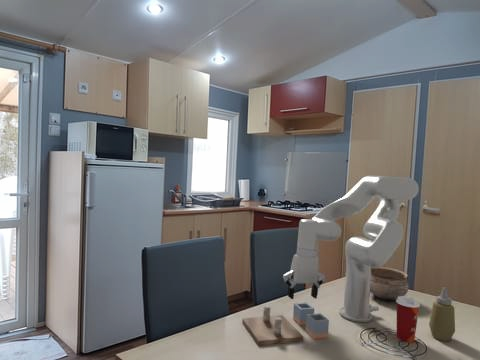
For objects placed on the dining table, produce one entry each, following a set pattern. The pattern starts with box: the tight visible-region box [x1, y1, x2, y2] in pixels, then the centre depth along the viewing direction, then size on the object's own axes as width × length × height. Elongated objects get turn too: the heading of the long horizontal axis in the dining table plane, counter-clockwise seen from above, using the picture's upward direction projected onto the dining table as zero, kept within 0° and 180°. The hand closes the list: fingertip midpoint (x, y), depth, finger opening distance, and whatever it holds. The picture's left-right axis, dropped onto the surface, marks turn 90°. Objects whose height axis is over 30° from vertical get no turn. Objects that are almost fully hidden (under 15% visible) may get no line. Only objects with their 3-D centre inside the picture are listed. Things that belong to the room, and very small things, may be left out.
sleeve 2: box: [305, 312, 330, 339], centre depth 120 cm, size 6×6×6 cm
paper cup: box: [395, 295, 421, 344], centre depth 121 cm, size 8×8×14 cm
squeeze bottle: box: [428, 287, 456, 342], centre depth 123 cm, size 8×8×18 cm
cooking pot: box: [370, 266, 410, 302], centre depth 160 cm, size 25×19×12 cm
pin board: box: [241, 305, 304, 346], centre depth 121 cm, size 16×17×6 cm
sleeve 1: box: [292, 302, 315, 326], centre depth 130 cm, size 6×6×6 cm
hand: (302, 297), depth 130 cm, fingers open, 9 cm apart
